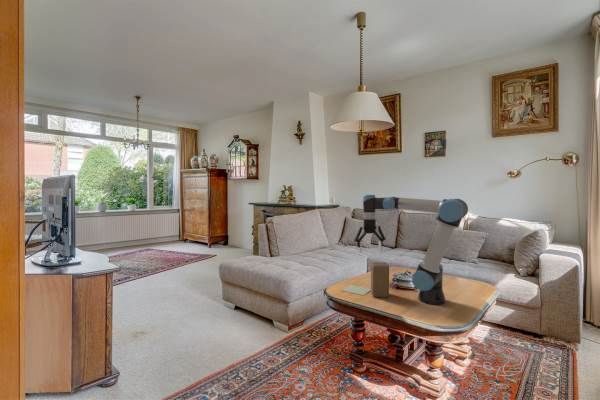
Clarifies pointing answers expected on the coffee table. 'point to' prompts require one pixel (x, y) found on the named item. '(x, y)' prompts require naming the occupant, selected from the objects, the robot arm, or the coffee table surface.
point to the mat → (356, 290)
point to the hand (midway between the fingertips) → (370, 251)
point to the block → (380, 279)
